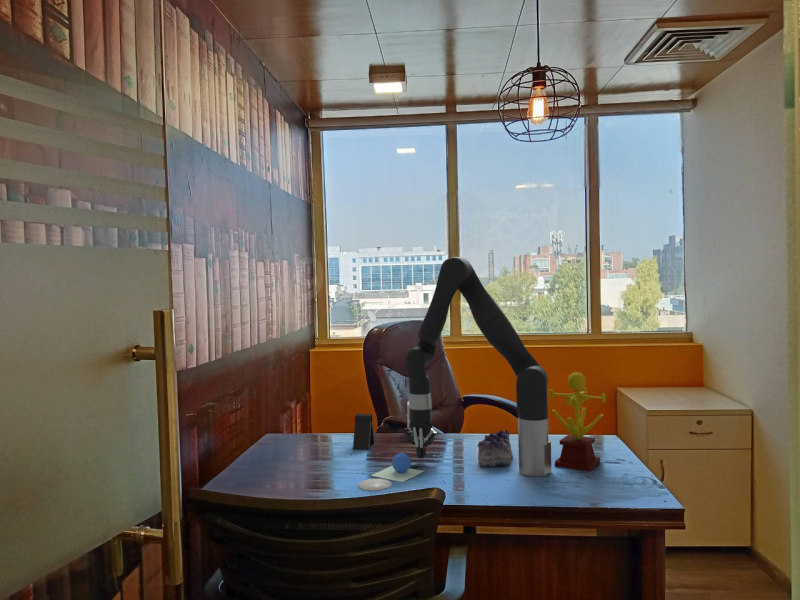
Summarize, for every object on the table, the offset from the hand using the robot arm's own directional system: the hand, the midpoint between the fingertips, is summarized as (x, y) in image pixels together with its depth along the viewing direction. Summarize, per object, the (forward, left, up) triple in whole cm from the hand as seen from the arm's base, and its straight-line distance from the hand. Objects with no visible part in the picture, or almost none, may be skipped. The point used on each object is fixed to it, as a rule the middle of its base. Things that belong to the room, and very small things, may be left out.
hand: (421, 457), depth 199 cm
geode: (-20, -15, -2) cm, 25 cm away
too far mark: (0, +26, -2) cm, 26 cm away
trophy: (-45, -24, -2) cm, 51 cm away
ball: (0, +12, +2) cm, 12 cm away
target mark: (0, +14, -2) cm, 14 cm away
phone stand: (+29, -6, -2) cm, 30 cm away
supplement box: (+22, -31, -2) cm, 38 cm away
